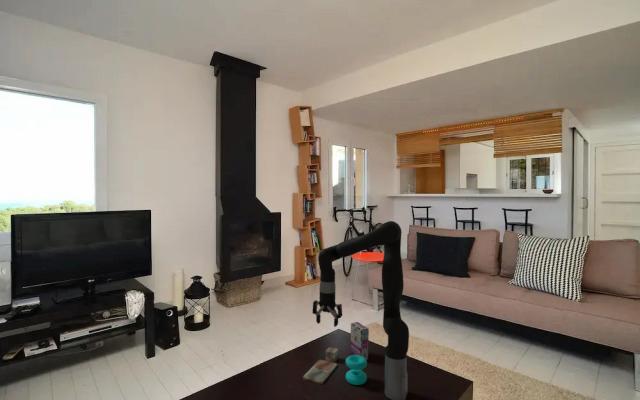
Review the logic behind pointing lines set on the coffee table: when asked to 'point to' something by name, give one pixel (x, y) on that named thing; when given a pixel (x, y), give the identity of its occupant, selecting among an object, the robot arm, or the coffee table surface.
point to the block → (331, 354)
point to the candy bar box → (359, 340)
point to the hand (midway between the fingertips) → (327, 324)
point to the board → (320, 371)
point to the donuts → (356, 369)
